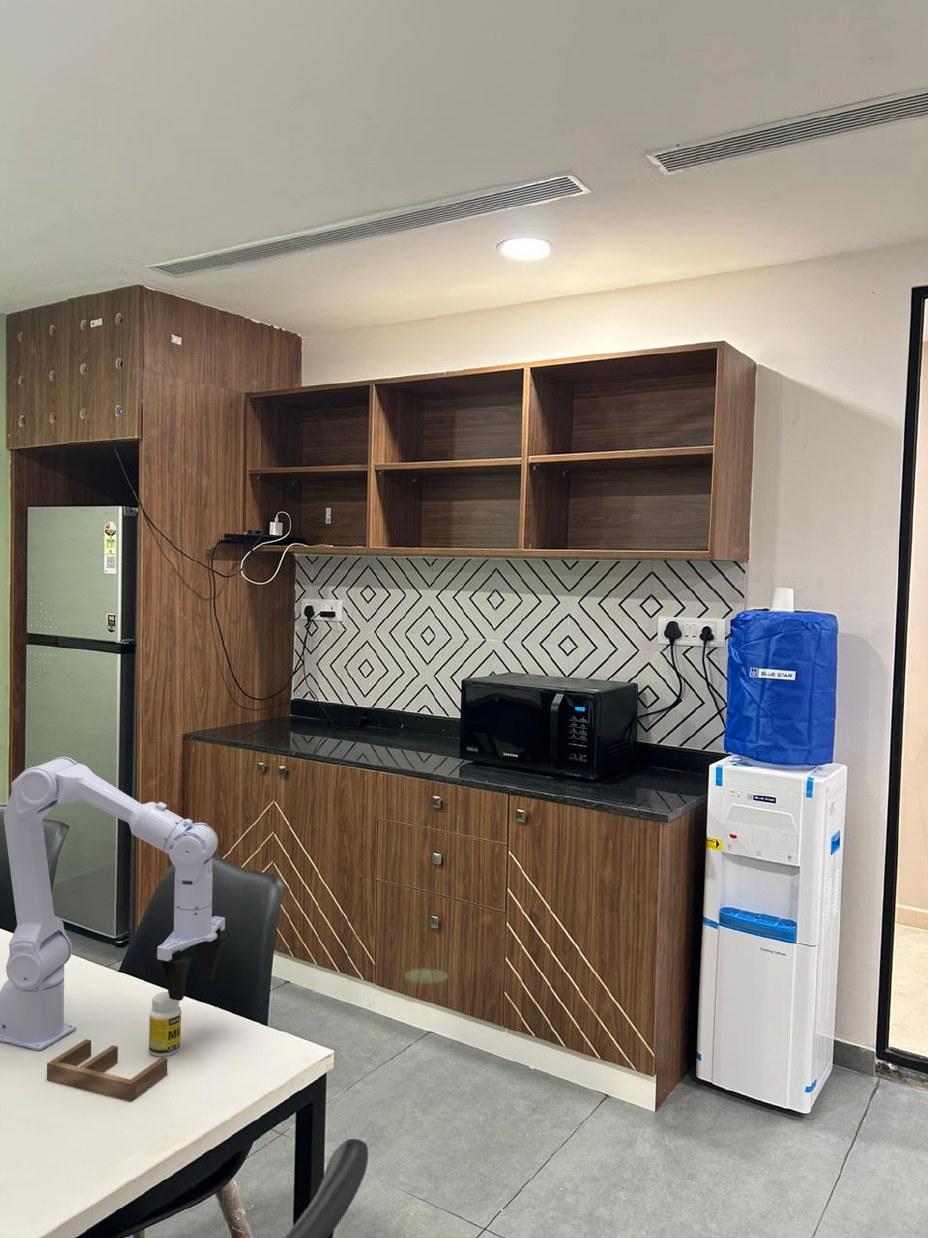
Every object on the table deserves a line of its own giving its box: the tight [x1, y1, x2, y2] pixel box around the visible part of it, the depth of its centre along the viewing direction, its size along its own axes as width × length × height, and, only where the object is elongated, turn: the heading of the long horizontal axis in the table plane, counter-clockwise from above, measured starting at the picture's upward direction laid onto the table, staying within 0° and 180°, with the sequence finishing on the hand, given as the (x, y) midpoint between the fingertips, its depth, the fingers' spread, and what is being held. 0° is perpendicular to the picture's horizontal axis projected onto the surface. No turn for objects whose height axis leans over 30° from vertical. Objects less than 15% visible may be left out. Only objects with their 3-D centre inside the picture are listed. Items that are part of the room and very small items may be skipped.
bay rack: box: [46, 1038, 168, 1103], centre depth 140 cm, size 15×8×2 cm, turn 70°
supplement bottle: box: [148, 991, 182, 1057], centre depth 149 cm, size 5×5×8 cm
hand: (191, 989), depth 150 cm, fingers open, 7 cm apart
